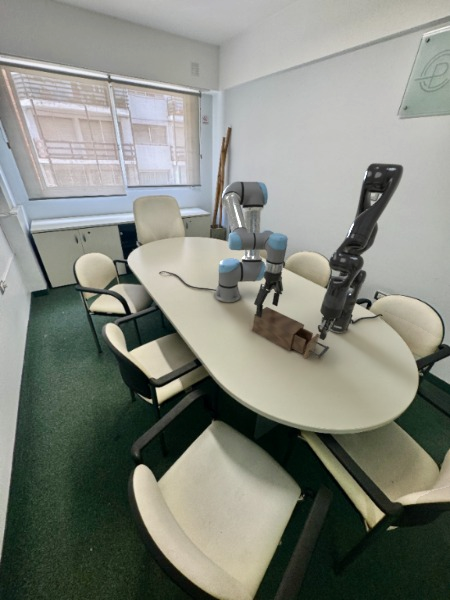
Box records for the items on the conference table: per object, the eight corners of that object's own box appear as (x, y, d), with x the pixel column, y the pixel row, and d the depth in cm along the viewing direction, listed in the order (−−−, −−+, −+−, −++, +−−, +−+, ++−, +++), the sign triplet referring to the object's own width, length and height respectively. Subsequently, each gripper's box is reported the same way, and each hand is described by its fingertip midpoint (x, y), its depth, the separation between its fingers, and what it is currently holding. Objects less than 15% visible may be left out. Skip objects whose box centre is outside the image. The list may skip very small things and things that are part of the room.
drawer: (327, 354, 107) (331, 340, 103) (318, 364, 101) (322, 350, 97) (278, 328, 121) (281, 315, 117) (268, 336, 116) (270, 323, 112)
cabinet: (300, 340, 115) (304, 324, 110) (289, 351, 109) (293, 334, 104) (264, 322, 127) (266, 306, 122) (252, 330, 121) (254, 314, 116)
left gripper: (263, 282, 95) (257, 324, 106) (295, 265, 111) (287, 303, 122) (248, 276, 99) (244, 317, 111) (281, 260, 115) (274, 298, 126)
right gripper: (336, 314, 85) (324, 350, 94) (349, 300, 94) (337, 335, 103) (316, 305, 90) (306, 341, 99) (330, 293, 98) (320, 327, 107)
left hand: (267, 310), depth 116 cm, fingers open, 13 cm apart
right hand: (322, 338), depth 101 cm, fingers closed
